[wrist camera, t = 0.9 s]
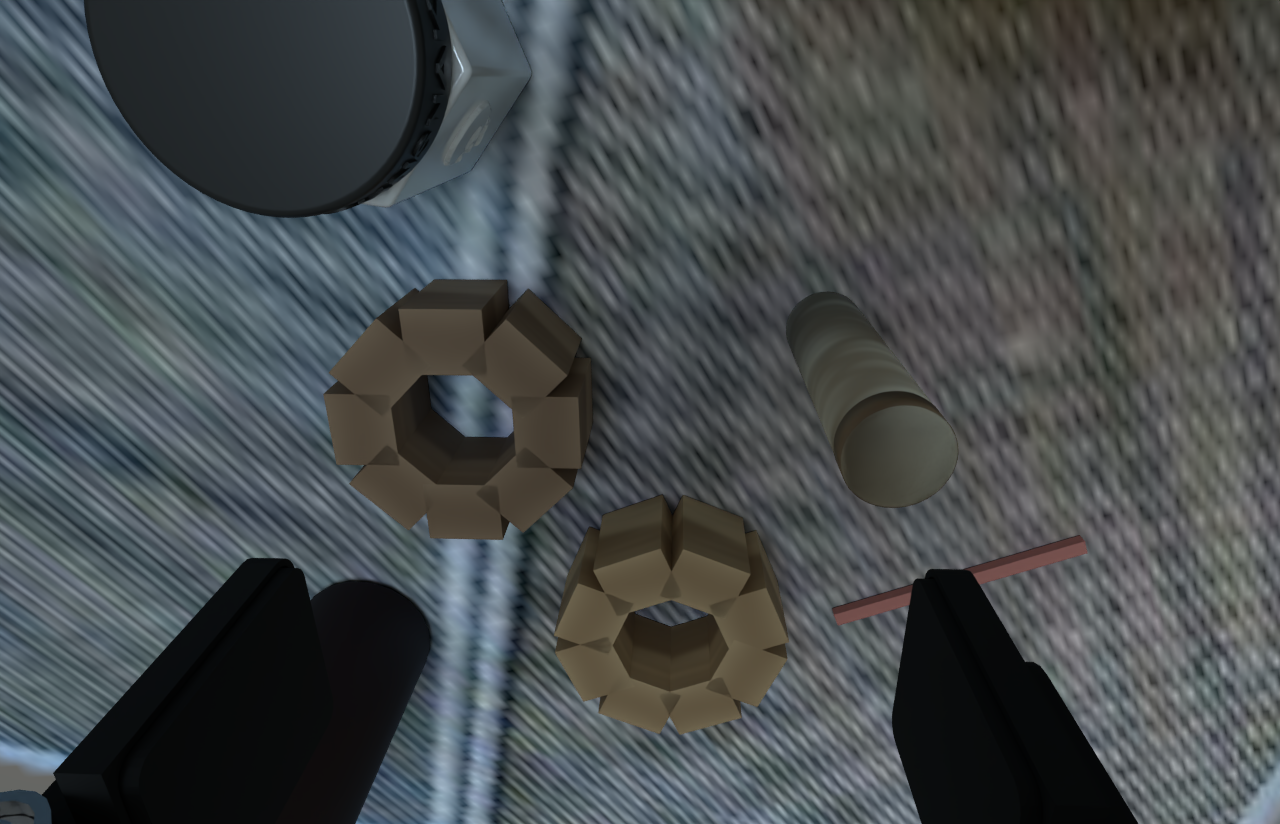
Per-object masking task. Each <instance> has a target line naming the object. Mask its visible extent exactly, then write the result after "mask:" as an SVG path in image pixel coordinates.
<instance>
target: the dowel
mask: <svg viewBox="0 0 1280 824" xmlns="http://www.w3.org/2000/svg"><path fill="white" fill-rule="evenodd" d="M786 336H787V340H788V343H789V346H790V348H791V351H792V353H793V356H794V358H795V360H796V363H797V365H798V368H799V370H800V373H801V375H802V377H803V380H804V382H805V385H806V387H807V390H808V392H809V394H810V397H811V399H812V402H813V404H814V406H815V409H816V411H817V414H818V416H819V419H820V421H821V423H822V426H823V428H824V431H825V433H826V436H827V438H828V440H829V443H830V445H831V448H832V450H833V453H834V455H835V459H836V462H837V464H838V467H839V469H840V471H841V474H842V476H843V479H844V481H845V483H846V484H847V486H848V488H849V489H850V490H851V491H852V492H853V493H854V494H855V495H856V496H857V497H859V498H860V499H862V500H863V501H865V502H868V503H870V504H873V505H876V506H880V507H887V508H899V507H906V506H910V505H914V504H917V503H919V502H922V501H924V500H926V499H928V498H929V497H931V496H932V495H934V494H935V493H936V492H938V491H939V490H940V489H941V488H942V487H943V486H944V485H945V484H946V482H947V481H948V480H949V478H950V477H951V475H952V473H953V471H954V469H955V466H956V463H957V459H958V443H957V438H956V436H955V433H954V431H953V429H952V427H951V426H950V425H949V423H948V422H947V421H946V420H945V418H944V417H943V416H942V414H941V413H940V412H939V411H938V409H937V408H936V407H935V406H934V405H933V404H932V403H931V401H930V400H929V399H928V398H927V396H926V395H925V394H924V392H923V391H922V390H921V389H920V387H919V386H918V385H917V383H916V382H915V381H914V380H913V378H912V377H911V376H910V374H909V373H908V372H907V371H906V369H905V368H904V367H903V365H902V364H901V363H900V362H899V360H898V359H897V358H896V356H895V355H894V354H893V353H892V351H891V350H890V349H889V347H888V346H887V345H886V344H885V342H884V341H883V340H882V338H881V337H880V336H879V335H878V333H877V332H876V331H875V329H874V328H873V327H872V326H871V324H870V323H869V322H868V320H867V319H866V318H865V317H864V315H863V314H862V313H861V311H860V310H859V309H858V308H857V306H856V305H855V304H854V303H853V302H852V301H851V300H850V299H849V298H847V297H846V296H844V295H841V294H838V293H834V292H820V293H816V294H813V295H810V296H808V297H806V298H805V299H803V300H802V301H801V302H799V303H798V304H797V305H796V306H795V308H794V309H793V310H792V312H791V314H790V316H789V318H788V321H787V326H786Z"/></svg>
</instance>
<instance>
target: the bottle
mask: <svg viewBox="0 0 1280 824" xmlns="http://www.w3.org/2000/svg"><path fill="white" fill-rule="evenodd" d="M310 602H311V606H312V610H313V615H314V619H315V623H316V627H317V632H318V636H319V640H320V644H321V649H322V653H323V657H324V662H325V666H326V670H327V674H328V679H329V683H330V687H331V692H332V696H333V713H332V717H331V721H330V723H329V725H328V727H327V729H326V731H325V733H324V735H323V736H322V738H321V740H320V742H319V744H318V746H317V747H316V749H315V751H314V753H313V755H312V757H311V759H310V760H309V762H308V764H307V766H306V768H305V770H304V771H303V773H302V775H301V777H300V779H299V781H298V782H297V784H296V786H295V788H294V790H293V792H292V793H291V795H290V797H289V799H288V801H287V803H286V804H285V806H284V808H283V810H282V812H281V814H280V816H279V817H278V819H277V821H276V823H275V824H355V823H356V821H357V819H358V816H359V814H360V812H361V809H362V807H363V805H364V802H365V800H366V798H367V796H368V793H369V791H370V789H371V786H372V784H373V782H374V779H375V777H376V775H377V773H378V770H379V768H380V766H381V763H382V761H383V759H384V757H385V754H386V752H387V750H388V747H389V745H390V743H391V740H392V738H393V736H394V734H395V731H396V729H397V727H398V724H399V722H400V720H401V717H402V715H403V713H404V711H405V708H406V706H407V704H408V701H409V699H410V697H411V695H412V692H413V690H414V688H415V685H416V683H417V681H418V678H419V676H420V674H421V672H422V669H423V667H424V665H425V662H426V659H427V656H428V653H429V650H430V640H429V629H428V627H427V625H426V623H425V621H424V619H423V617H422V615H421V613H420V612H419V611H418V610H417V609H416V608H415V607H414V606H413V605H412V604H411V603H410V602H409V600H407V599H406V598H404V597H403V596H401V595H399V594H398V593H396V592H395V591H393V590H391V589H389V588H386V587H383V586H380V585H377V584H373V583H370V582H354V581H349V582H345V583H340V584H336V585H332V586H330V587H328V588H327V589H325V590H323V591H321V592H320V593H318V594H317V595H315V596H314V597H313V598H312V600H311V601H310Z"/></svg>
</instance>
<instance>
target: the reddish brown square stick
mask: <svg viewBox="0 0 1280 824" xmlns="http://www.w3.org/2000/svg"><path fill="white" fill-rule="evenodd" d="M1086 553H1087V549H1086V544H1085V541H1084V540H1083V539H1082V537H1081V536H1080V535H1079V536H1076V537H1072V538H1069V539H1066V540H1062V541H1059V542H1055V543H1052V544H1049V545H1045V546H1042V547H1038V548H1035V549H1032V550H1028V551H1025V552H1022V553H1018V554H1015V555H1011V556H1008V557H1005V558H1001V559H998V560H994V561H991V562H988V563H984V564H981V565H977V566H974V567H971V568H967V569H964V570H969V571H971V572H972V574H973V575H974V576H975V578H976V580H977V581H978V583H979V584H983V583H986V582H990V581H993V580H997V579H1000V578H1003V577H1007V576H1010V575H1014V574H1017V573H1021V572H1024V571H1028V570H1031V569H1034V568H1038V567H1041V566H1045V565H1048V564H1052V563H1055V562H1059V561H1062V560H1065V559H1069V558H1072V557H1076V556H1079V555H1083V554H1086ZM912 586H913V585H910V586H906V587H903V588H900V589H896V590H893V591H889V592H886V593H883V594H879V595H876V596H873V597H869V598H866V599H862V600H859V601H856V602H852V603H849V604H845V605H842V606H839V607H835V608H832V610H833V613H834V616H835V619H836V621H837V624H838V625H842V624H845V623H848V622H852V621H855V620H859V619H862V618H866V617H869V616H873V615H876V614H879V613H883V612H886V611H890V610H893V609H897V608H900V607H904V606H907V605H910V598H911V592H912Z"/></svg>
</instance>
